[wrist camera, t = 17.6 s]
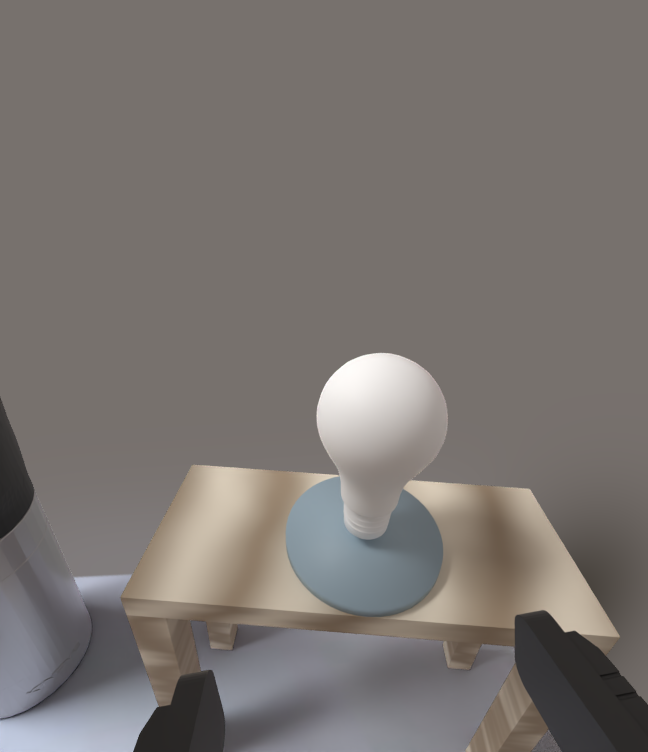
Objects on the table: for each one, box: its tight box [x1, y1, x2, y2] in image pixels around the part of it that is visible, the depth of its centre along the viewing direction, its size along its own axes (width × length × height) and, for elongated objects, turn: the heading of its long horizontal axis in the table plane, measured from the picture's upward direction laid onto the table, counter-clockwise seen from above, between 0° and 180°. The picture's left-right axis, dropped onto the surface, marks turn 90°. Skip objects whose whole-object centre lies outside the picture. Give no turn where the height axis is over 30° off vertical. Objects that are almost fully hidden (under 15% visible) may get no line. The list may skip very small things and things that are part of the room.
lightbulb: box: [317, 353, 448, 540], centre depth 19 cm, size 6×6×11 cm
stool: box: [120, 465, 620, 752], centre depth 26 cm, size 24×10×21 cm, turn 87°
